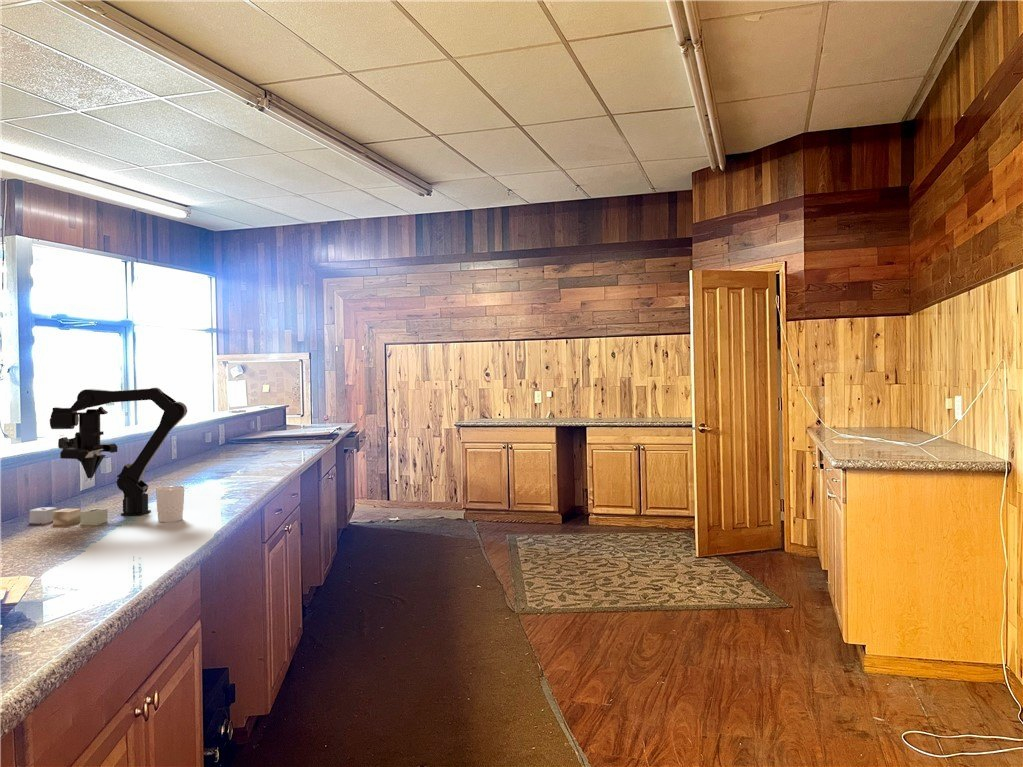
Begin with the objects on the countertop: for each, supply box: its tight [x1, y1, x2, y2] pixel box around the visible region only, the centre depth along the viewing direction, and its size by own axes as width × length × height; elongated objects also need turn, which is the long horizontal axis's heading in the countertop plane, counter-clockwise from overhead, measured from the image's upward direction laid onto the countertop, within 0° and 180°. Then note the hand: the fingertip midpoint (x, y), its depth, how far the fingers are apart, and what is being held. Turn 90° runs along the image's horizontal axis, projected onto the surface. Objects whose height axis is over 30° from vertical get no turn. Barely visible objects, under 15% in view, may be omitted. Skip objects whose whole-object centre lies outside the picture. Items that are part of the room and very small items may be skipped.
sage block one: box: [80, 508, 109, 526], centre depth 211 cm, size 5×5×4 cm
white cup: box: [155, 485, 185, 523], centre depth 216 cm, size 8×8×10 cm
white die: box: [29, 506, 58, 525], centre depth 212 cm, size 5×5×4 cm
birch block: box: [52, 508, 82, 526], centre depth 210 cm, size 5×5×4 cm
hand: (90, 478), depth 220 cm, fingers closed
